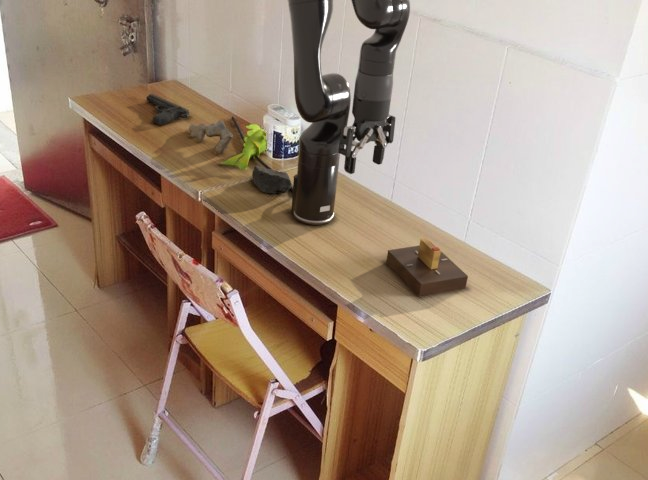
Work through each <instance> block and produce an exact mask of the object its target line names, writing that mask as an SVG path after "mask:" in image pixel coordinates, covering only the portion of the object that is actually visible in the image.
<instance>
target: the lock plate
mask: <svg viewBox="0 0 648 480" xmlns="http://www.w3.org/2000/svg"><path fill="white" fill-rule="evenodd" d="M418 251H419V245H413V246H407V247H400V248H394V249H388V250H387V255H386V260H385V261H386V264H387V265H388V266H389V267H390V268H391V269H392V270H393V272H395V273H396V274H397V276H399V278H401V279H402V281H403V282H404V283H405V284H406V285H407V286H408V287H409V288H410V289H411V290H412V291H413V292H414V293H415V294H416V295H417V296H418V297H424V296H430V295H435V294H441V293H446V292H453V291H457V290H458V291H459V290H463V289H466V287H467V282H468V278H469V275H468V274H467V273H466V272H465V271H463V270H462V269H461V268H460V267H459V266H458V265H457V264H456V263H454V262H453V260H452V259H450V258H449V257H448V256H447V255H446V254H445V253H444V252H443V251H441V252H440V257H439V262H438V268H437V269H430V268H429V267H428V266H427V265H426V264H425V263H424V262H423V261H422V260H420V259H419V258H418Z"/></svg>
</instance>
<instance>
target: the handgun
mask: <svg viewBox="0 0 648 480" xmlns="http://www.w3.org/2000/svg"><path fill="white" fill-rule="evenodd" d="M145 98H146V102H149V103H151V104H153V105H155V106H154V110H155V111H156V112H157V113H156V114H154V115H153V117H152V122H153V123H155V124H157V125H159V126H162V125H166V124H169V123H170V122H172V121H173V120H175V119H177V118H178V119H179V118H180V119H188V116H189V115H190V110H189V109H187V108H185V107H183V106H180V105H178V104H176V103H173V102H172V101H169V100H167V99H165V98H162V97H160V96H158V95H156V94H153V93H150V94H148V95H147V96H146V97H145Z"/></svg>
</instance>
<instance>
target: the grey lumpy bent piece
mask: <svg viewBox="0 0 648 480" xmlns="http://www.w3.org/2000/svg"><path fill="white" fill-rule="evenodd" d="M188 130H189V132H190V133H191V136H190V137H191V138H196V139H197V140H198V141H200V142H203V141H204V140H205V138H206V137H207V138H214V137H216V138H217V137H219V140H218V142H217V144H216V146H215V148H214V149H215V153H216V154H217V155H222V154H223V153H224V152H225V150H226V149H227V147H228V146H229V145H230V144H231V142H232V140H233V137H234V134H233V133H232V132H230V131H229V129H228V127H226V125H225V122H224V121H223V120H222V119H219V120H218V121H217V122H216V123H214V122H212V123H210V124H209V125H208V126H207V124H205V123H200V124H198V125H196V124H190V125H189V126H188Z"/></svg>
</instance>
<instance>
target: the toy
mask: <svg viewBox="0 0 648 480" xmlns="http://www.w3.org/2000/svg"><path fill="white" fill-rule="evenodd" d="M245 128H246V129H248V130H247V132H246V136H244V137H245V138H244V141H245V143H244V142H243V149H242V152H241V153H238V154H236V155H233V156H232V157H230V158H228V159H226V160H225V161H223V162H219V165H220V166H221V165H226V166H235V167H237V168H239V169H240V170H247V169H248V165H249V161H250V159H252V158H253V160H255V159H256V158H255V156H257V157H259V158H260V155H261V154H262V155H264V153H267V152H268V150H267V151H266V149H267V140H266V133H265V132H264V130H265V129H263V128H260V126H259V125H258V124H256V123H252V124H251V123H250V124H249V125H246V126H245ZM239 158H240V159H239Z"/></svg>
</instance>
